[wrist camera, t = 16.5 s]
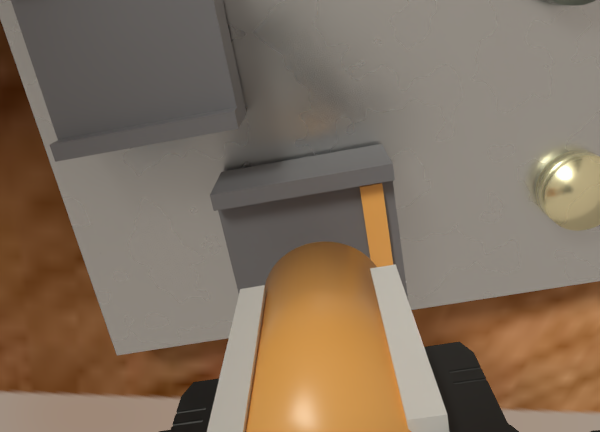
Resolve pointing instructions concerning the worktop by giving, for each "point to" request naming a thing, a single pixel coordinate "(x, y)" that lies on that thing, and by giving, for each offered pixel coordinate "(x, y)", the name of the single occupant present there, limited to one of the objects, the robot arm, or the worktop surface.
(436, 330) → the worktop surface
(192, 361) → the worktop surface
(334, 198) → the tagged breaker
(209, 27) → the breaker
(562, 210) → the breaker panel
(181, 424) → the robot arm
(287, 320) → the cap
